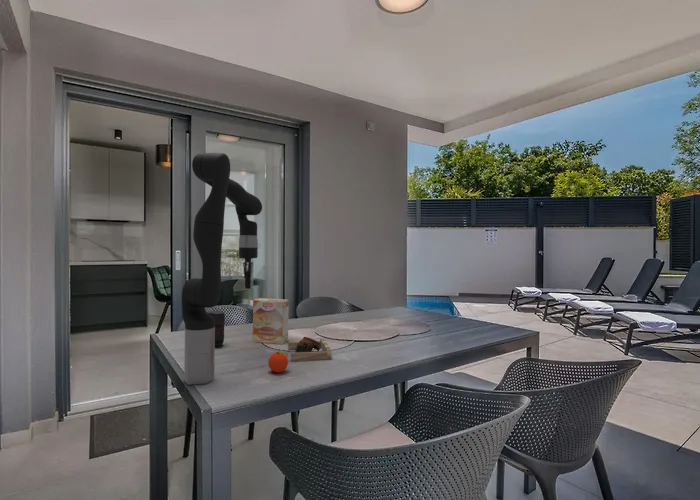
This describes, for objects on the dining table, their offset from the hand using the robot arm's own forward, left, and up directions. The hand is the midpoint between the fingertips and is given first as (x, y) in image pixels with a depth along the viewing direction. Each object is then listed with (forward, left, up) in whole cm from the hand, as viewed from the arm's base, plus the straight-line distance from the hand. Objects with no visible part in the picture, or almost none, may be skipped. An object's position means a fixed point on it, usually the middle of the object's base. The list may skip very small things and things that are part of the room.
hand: (247, 288), depth 160 cm
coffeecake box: (+17, -10, -27) cm, 34 cm away
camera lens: (+12, +14, -27) cm, 33 cm away
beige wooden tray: (-7, -24, -27) cm, 36 cm away
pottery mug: (-8, -24, -27) cm, 37 cm away
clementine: (-27, -12, -27) cm, 40 cm away
